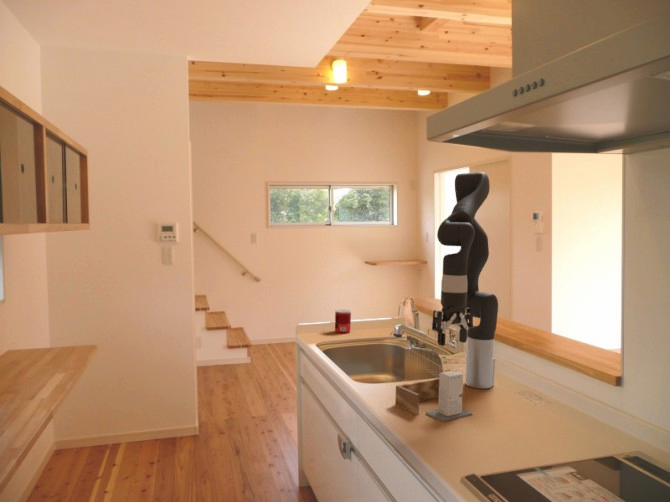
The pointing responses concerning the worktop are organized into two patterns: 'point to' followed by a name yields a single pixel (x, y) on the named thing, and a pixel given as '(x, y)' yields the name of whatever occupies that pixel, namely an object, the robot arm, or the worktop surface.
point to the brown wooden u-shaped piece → (416, 394)
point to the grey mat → (443, 418)
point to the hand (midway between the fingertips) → (452, 343)
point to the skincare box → (450, 393)
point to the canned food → (342, 321)
